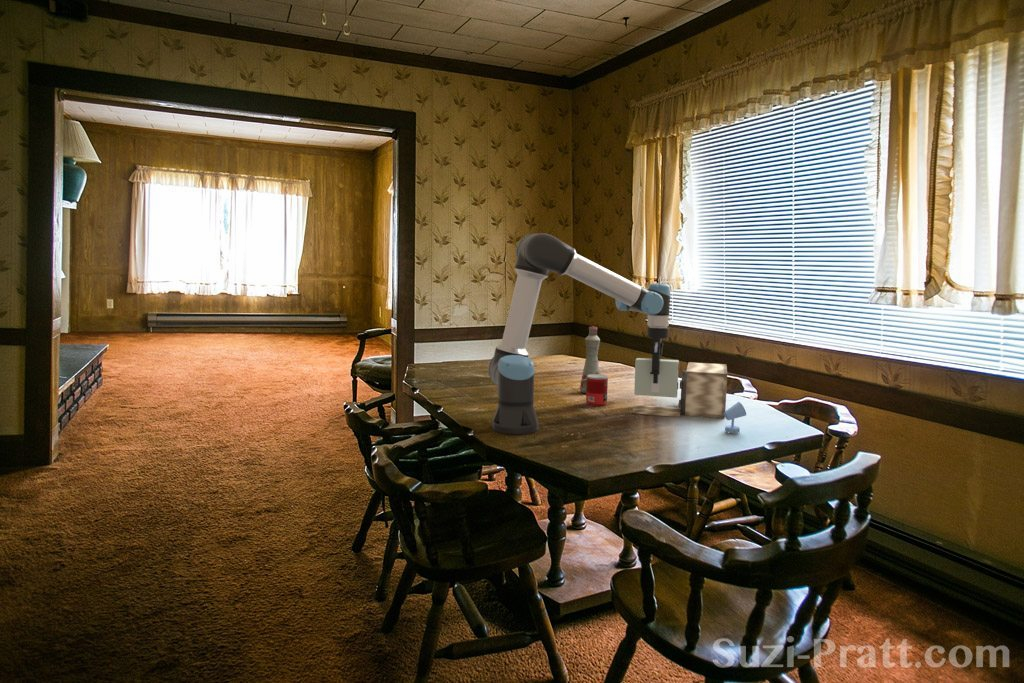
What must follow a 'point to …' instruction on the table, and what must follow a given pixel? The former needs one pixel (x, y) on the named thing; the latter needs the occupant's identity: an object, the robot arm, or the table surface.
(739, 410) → the spotlight
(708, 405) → the cabinet
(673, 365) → the door
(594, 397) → the canned food
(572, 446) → the table surface
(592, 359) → the bottle
